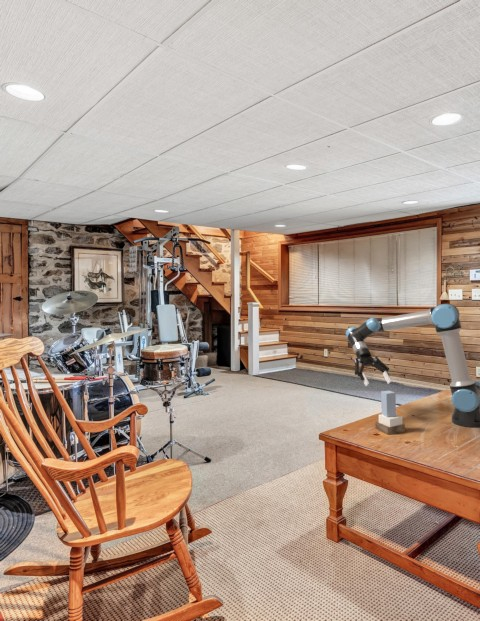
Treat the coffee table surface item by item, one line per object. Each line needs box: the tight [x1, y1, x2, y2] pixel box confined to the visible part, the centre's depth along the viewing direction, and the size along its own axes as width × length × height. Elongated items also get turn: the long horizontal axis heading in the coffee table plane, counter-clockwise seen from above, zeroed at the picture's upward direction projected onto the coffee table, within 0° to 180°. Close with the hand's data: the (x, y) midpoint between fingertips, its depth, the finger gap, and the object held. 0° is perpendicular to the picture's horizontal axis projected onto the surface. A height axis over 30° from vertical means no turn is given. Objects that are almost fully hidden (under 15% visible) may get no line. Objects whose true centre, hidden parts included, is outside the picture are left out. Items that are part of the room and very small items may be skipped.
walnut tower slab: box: [374, 420, 406, 436], centre depth 210 cm, size 10×10×4 cm
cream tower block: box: [378, 413, 403, 427], centre depth 210 cm, size 8×8×4 cm
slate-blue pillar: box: [380, 390, 397, 417], centre depth 210 cm, size 5×5×12 cm
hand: (378, 383), depth 216 cm, fingers open, 13 cm apart
